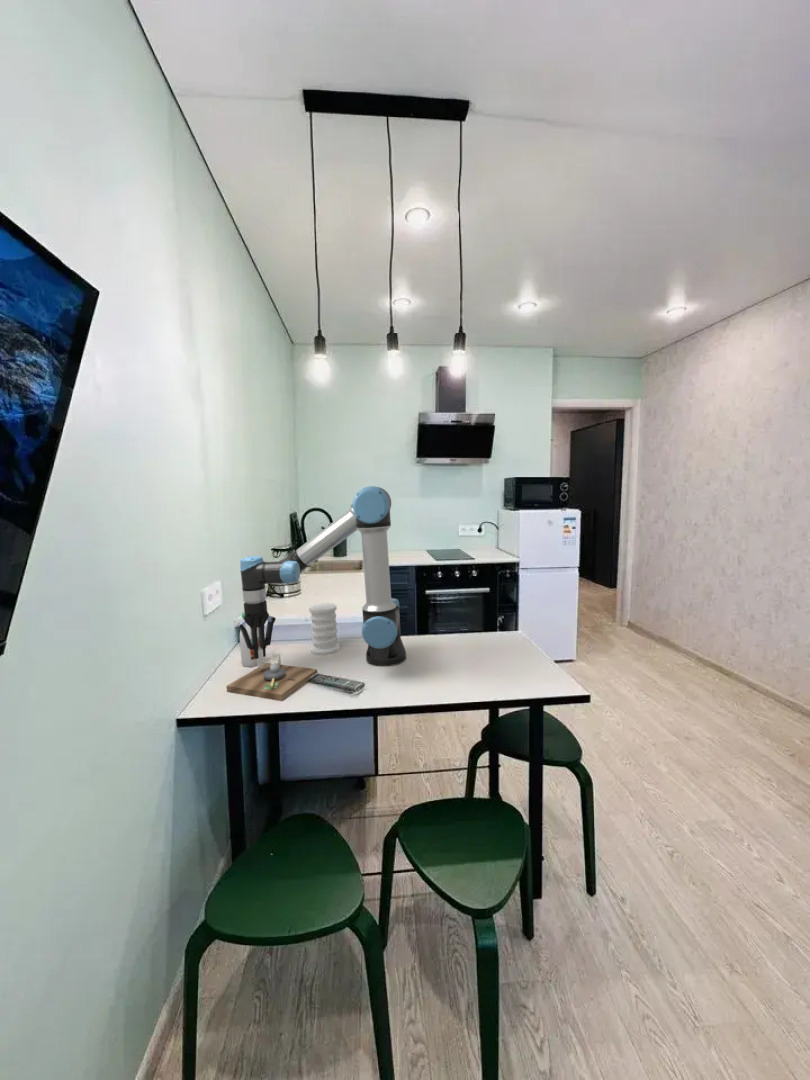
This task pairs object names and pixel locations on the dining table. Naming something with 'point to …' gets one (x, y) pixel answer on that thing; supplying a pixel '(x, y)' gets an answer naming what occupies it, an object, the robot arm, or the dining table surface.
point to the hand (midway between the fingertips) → (260, 666)
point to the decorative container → (324, 629)
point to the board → (261, 687)
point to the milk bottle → (246, 653)
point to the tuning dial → (274, 670)
